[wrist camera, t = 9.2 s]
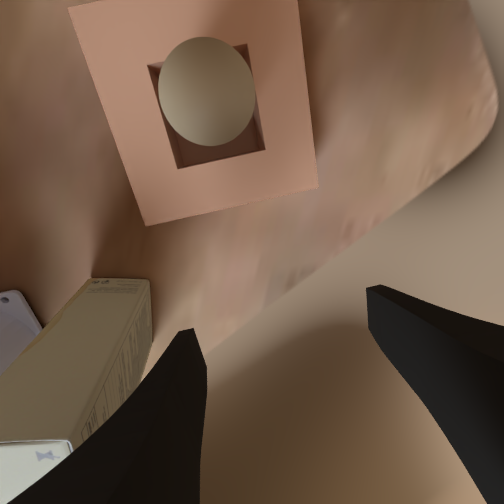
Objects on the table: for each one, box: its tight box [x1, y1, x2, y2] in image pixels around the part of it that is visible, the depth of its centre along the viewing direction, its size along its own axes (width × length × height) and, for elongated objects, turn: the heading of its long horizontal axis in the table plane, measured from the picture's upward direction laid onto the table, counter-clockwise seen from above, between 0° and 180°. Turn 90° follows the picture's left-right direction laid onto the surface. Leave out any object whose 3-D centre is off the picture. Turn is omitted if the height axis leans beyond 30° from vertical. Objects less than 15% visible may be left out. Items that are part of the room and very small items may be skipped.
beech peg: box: [158, 37, 255, 146], centre depth 13 cm, size 3×3×8 cm
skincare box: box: [0, 278, 152, 504], centre depth 16 cm, size 6×4×12 cm
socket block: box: [67, 0, 319, 226], centre depth 16 cm, size 10×10×4 cm
